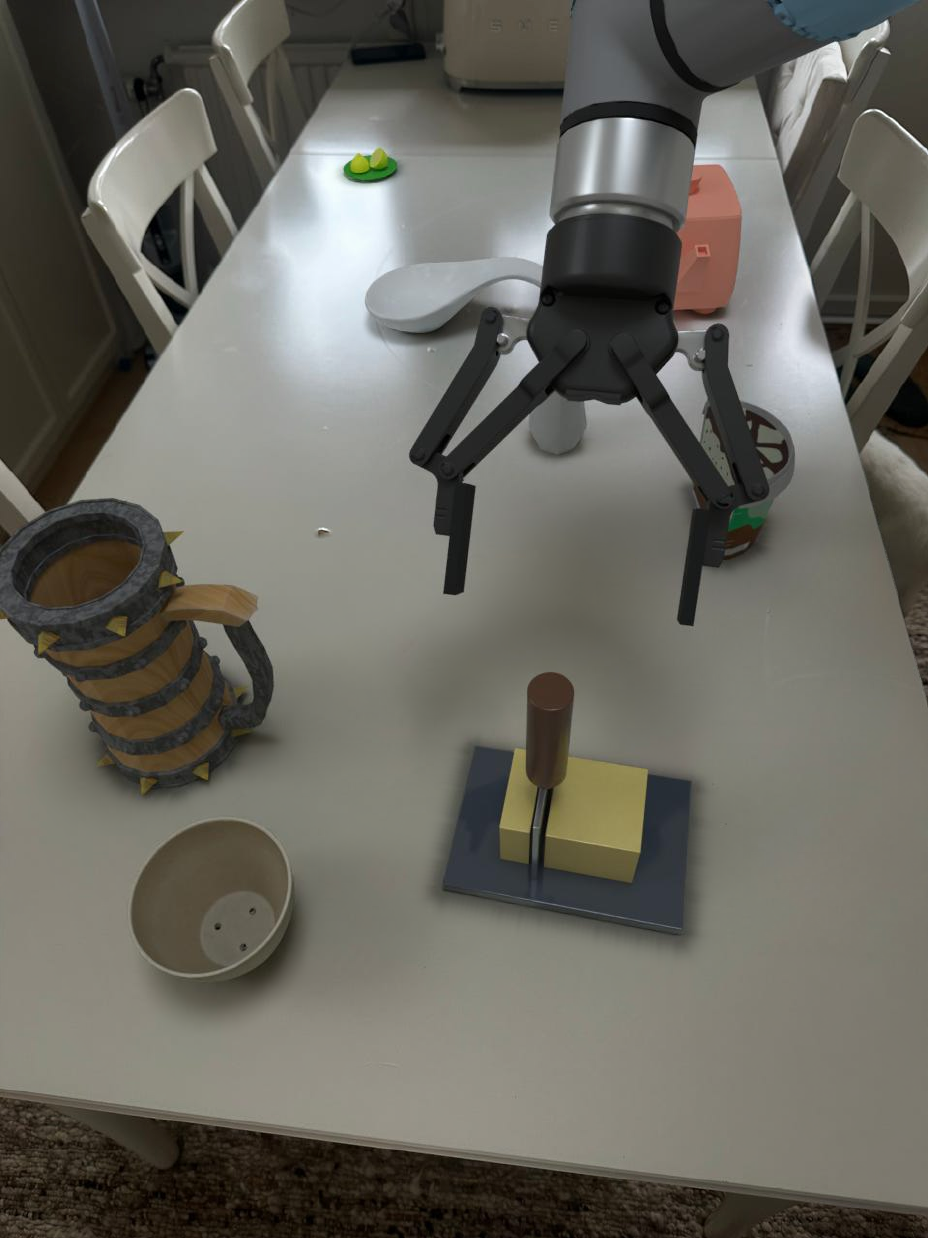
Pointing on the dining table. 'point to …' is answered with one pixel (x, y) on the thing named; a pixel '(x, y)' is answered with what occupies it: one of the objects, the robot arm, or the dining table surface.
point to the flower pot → (212, 900)
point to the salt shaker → (558, 424)
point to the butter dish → (568, 888)
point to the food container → (775, 462)
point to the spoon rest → (439, 290)
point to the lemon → (370, 166)
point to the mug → (134, 638)
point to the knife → (547, 745)
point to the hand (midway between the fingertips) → (566, 608)
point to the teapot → (709, 242)
